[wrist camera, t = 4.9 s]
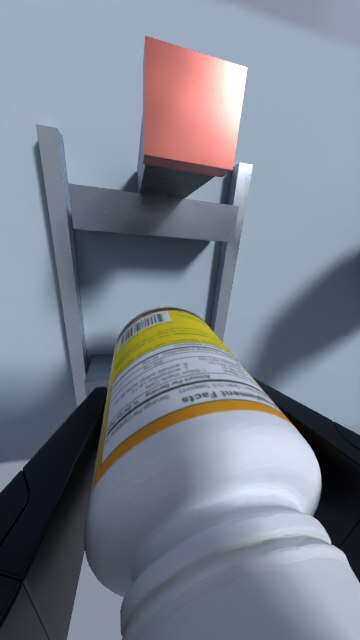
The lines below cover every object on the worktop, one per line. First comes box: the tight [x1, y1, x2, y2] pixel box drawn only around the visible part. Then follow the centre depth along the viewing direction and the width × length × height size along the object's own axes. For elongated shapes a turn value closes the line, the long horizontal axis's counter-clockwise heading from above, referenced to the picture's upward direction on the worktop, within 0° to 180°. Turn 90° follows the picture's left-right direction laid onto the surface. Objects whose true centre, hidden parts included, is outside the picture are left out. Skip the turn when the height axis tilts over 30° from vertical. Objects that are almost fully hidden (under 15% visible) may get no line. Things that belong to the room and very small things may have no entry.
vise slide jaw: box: [68, 36, 247, 242], centre depth 10 cm, size 9×4×9 cm, turn 85°
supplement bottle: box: [84, 306, 360, 640], centre depth 7 cm, size 6×6×10 cm
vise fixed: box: [36, 124, 253, 406], centre depth 15 cm, size 13×19×4 cm
